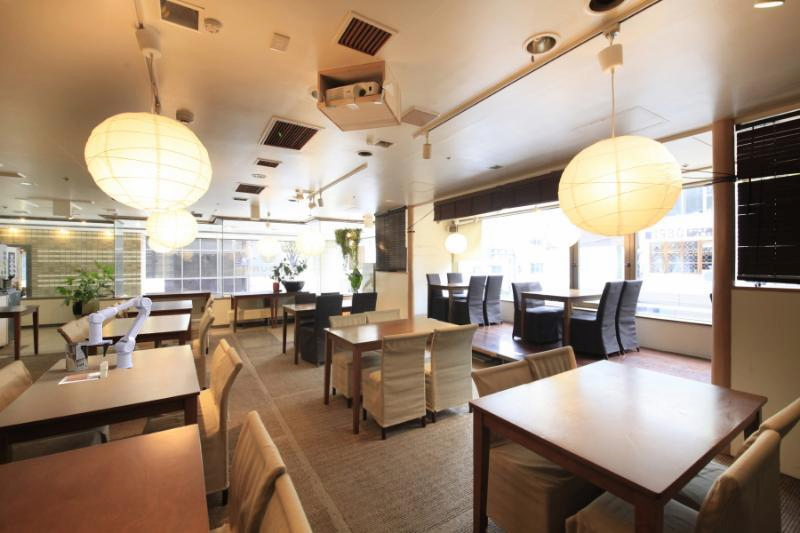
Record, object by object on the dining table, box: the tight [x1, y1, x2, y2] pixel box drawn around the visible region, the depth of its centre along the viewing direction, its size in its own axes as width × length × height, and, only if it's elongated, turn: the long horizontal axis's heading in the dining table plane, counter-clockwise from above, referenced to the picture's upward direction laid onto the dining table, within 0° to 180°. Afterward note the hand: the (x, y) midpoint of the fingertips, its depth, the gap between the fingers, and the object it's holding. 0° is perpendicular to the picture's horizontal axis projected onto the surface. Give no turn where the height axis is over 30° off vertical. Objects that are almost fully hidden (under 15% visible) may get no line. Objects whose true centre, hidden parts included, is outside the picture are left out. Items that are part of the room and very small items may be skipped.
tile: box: [67, 372, 89, 382], centre depth 186 cm, size 2×8×6 cm
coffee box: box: [64, 341, 89, 372], centre depth 201 cm, size 9×6×16 cm
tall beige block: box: [99, 360, 109, 379], centre depth 190 cm, size 6×2×8 cm, turn 32°
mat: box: [57, 371, 100, 385], centre depth 187 cm, size 14×16×1 cm
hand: (95, 357), depth 194 cm, fingers open, 7 cm apart
